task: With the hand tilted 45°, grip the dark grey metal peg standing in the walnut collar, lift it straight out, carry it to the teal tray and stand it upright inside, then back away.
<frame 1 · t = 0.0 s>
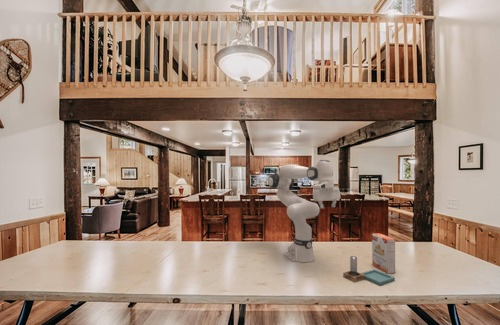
hand: (328, 207, 161), 39 cm above the table, tool pointing down, fingers open, 8 cm apart
peg: (353, 267, 149), in the collar
collar: (353, 278, 149), on the table
tray: (377, 278, 148), on the table
cracker box: (383, 269, 162), on the table
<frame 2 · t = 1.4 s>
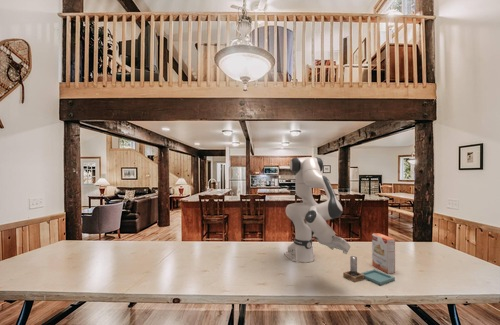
hand: (339, 250, 144), 18 cm above the table, tool tilted 45°, fingers open, 8 cm apart
nothing on the table moved.
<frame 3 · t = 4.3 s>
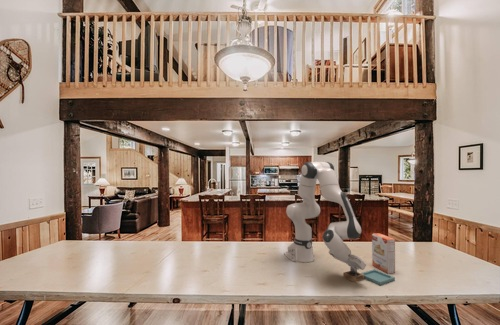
hand: (354, 266, 150), 6 cm above the table, tool tilted 45°, fingers closed on peg, 4 cm apart
peg: (353, 267, 149), in the collar, touching gripper
everything else where it was.
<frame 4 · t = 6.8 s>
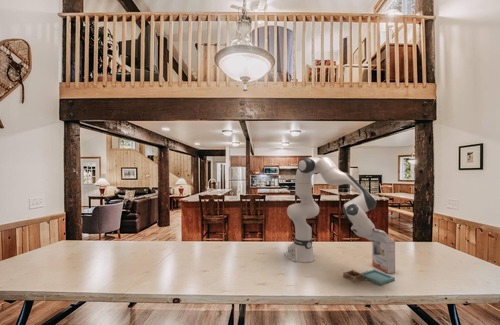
hand: (377, 242, 149), 21 cm above the table, tool tilted 45°, fingers closed on peg, 4 cm apart
peg: (376, 243, 149), point 20 cm above the table, touching gripper
everything else where it was.
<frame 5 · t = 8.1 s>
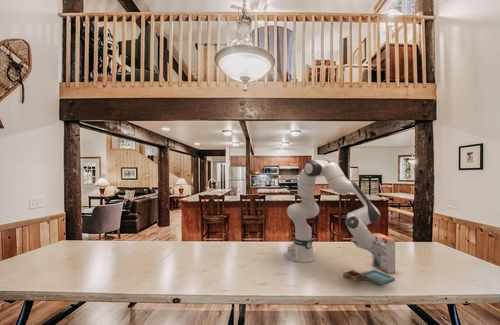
hand: (377, 254, 149), 14 cm above the table, tool tilted 45°, fingers closed on peg, 4 cm apart
peg: (377, 255, 148), point 14 cm above the table, touching gripper
everything else where it was.
when the fingers open (9 cm above the table, at t = 9.3 s): peg drops 2 cm, resting on tray.
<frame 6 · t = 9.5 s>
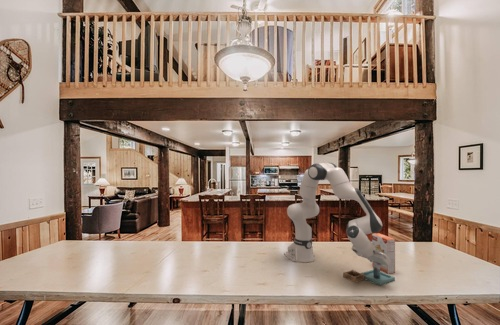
hand: (377, 263, 149), 9 cm above the table, tool tilted 45°, fingers open, 5 cm apart
peg: (376, 266, 149), in the tray, point 7 cm above the table
everything else where it was.
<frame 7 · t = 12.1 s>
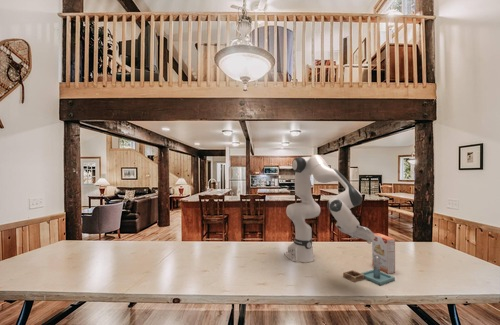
hand: (362, 240, 143), 24 cm above the table, tool tilted 45°, fingers open, 8 cm apart
nothing on the table moved.
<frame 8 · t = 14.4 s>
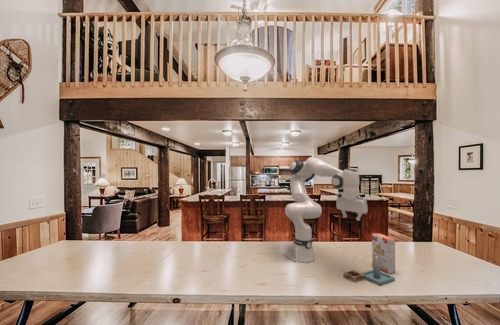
hand: (351, 218, 155), 33 cm above the table, tool pointing down, fingers open, 8 cm apart
nothing on the table moved.
at the end: peg inside the target area on the tray (0.1 cm from its centre), point 6.8 cm above the tray's base; peg tilted 0°; the gripper is holding nothing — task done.
